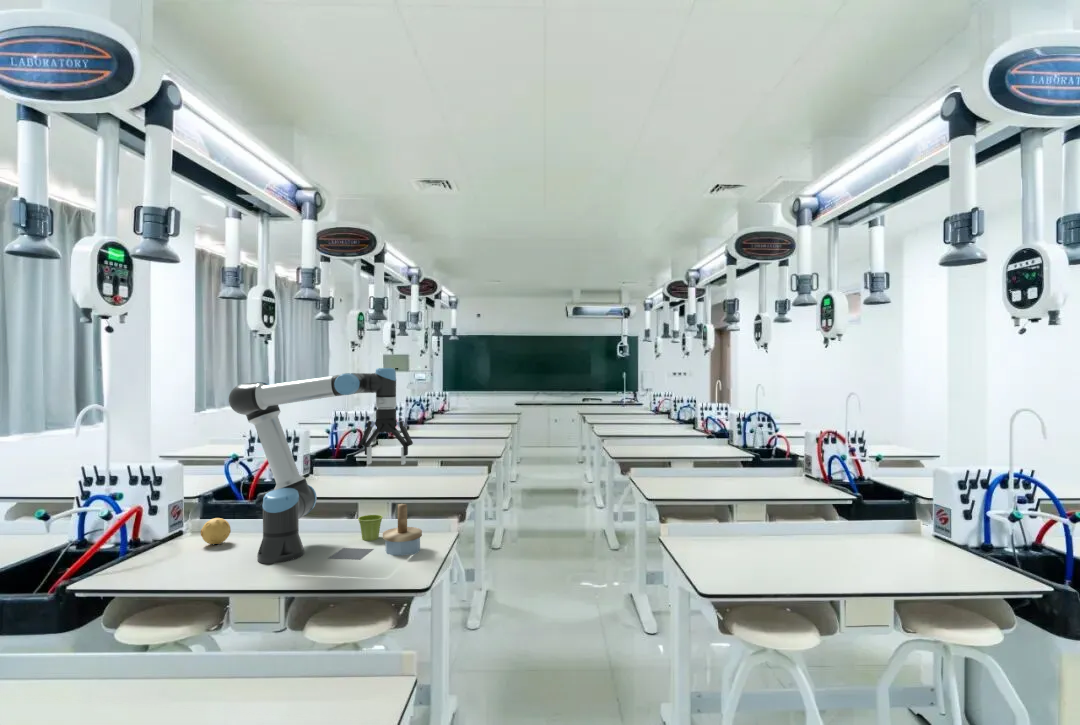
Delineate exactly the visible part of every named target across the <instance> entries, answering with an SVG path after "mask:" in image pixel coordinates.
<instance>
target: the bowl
mask: <svg viewBox="0 0 1080 725" xmlns="http://www.w3.org/2000/svg"><path fill="white" fill-rule="evenodd" d="M384 541H385V544H384V546H385V547H384V548H385V553H386V554H387V555H391V556H405V555H406V556H407V555H411V556H412V555H416V554H418V553H419V552H420V551H421V537H420V538H418V539H415V540H411V541H405V542H390V541H386V540H384Z"/></svg>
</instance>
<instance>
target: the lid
mask: <svg viewBox="0 0 1080 725" xmlns="http://www.w3.org/2000/svg"><path fill="white" fill-rule="evenodd" d="M422 536H423V530H422V529H421V528H419V527H414V526H408V504H407V503H398V504H397V527H393V528H390V529H386V530H384V531H383V532H382V539H383V540H384V541H385V540H386V541H390V542H405V541H411V540H415V539H418V538H420V539H421V538H422Z"/></svg>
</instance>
